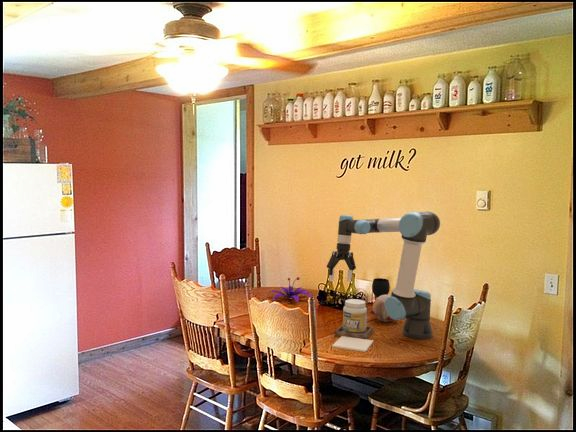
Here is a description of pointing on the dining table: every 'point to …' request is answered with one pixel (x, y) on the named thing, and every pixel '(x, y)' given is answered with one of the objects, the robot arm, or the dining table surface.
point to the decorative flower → (291, 292)
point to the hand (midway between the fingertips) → (340, 281)
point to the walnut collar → (354, 335)
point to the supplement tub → (354, 316)
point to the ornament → (381, 308)
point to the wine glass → (380, 287)
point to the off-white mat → (353, 343)
